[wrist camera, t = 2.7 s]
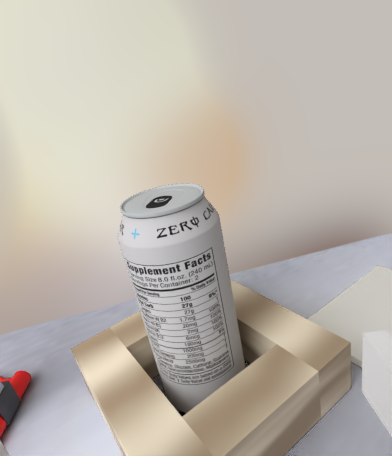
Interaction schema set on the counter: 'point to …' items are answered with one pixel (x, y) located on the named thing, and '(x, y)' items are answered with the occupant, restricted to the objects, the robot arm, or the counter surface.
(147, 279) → the energy drink can
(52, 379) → the counter surface
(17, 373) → the tow hook
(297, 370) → the socket holder
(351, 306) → the white square plate
